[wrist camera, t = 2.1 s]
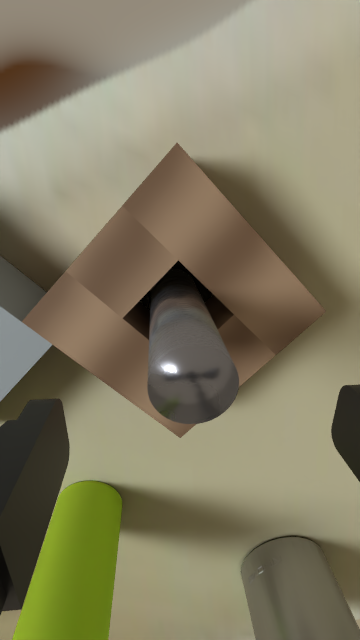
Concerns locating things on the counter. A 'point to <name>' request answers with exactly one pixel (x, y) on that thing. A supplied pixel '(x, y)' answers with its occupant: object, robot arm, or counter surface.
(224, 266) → the holder block
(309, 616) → the robot arm
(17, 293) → the socket block
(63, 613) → the soap dispenser
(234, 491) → the counter surface
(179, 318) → the steel pin
